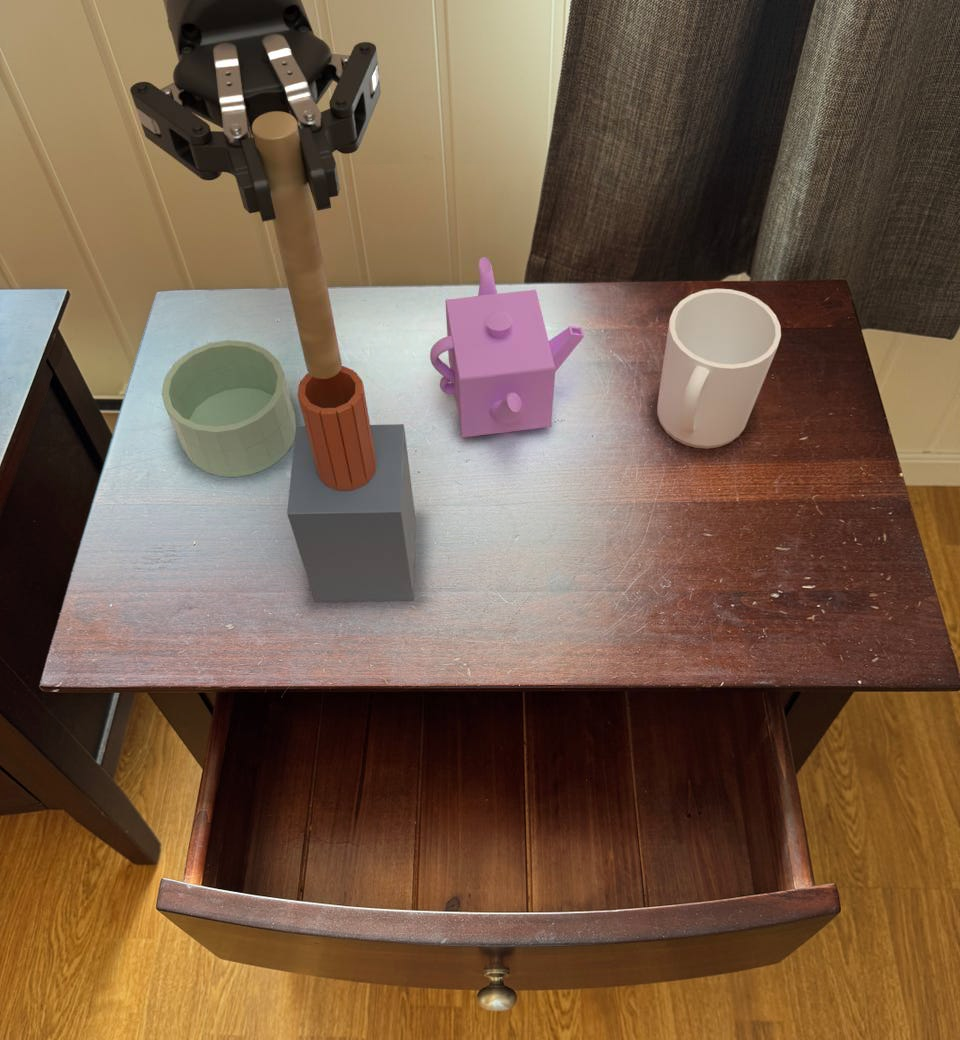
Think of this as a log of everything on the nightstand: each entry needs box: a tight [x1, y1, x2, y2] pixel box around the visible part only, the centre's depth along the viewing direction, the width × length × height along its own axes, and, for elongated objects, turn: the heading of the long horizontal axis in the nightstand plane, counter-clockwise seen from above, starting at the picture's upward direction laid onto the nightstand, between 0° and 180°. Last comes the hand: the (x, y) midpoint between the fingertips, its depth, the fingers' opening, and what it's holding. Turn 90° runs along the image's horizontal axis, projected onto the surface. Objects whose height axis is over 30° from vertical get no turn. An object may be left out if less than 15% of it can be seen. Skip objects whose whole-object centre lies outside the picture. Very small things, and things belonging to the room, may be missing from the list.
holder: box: [286, 365, 417, 603], centre depth 71 cm, size 8×8×20 cm
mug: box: [656, 288, 782, 450], centre depth 82 cm, size 11×9×10 cm
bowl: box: [161, 339, 297, 478], centre depth 84 cm, size 10×10×6 cm
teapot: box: [429, 256, 585, 438], centre depth 84 cm, size 18×13×10 cm
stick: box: [252, 111, 343, 379], centre depth 54 cm, size 2×2×16 cm
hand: (294, 198), depth 47 cm, fingers closed on stick, 2 cm apart
